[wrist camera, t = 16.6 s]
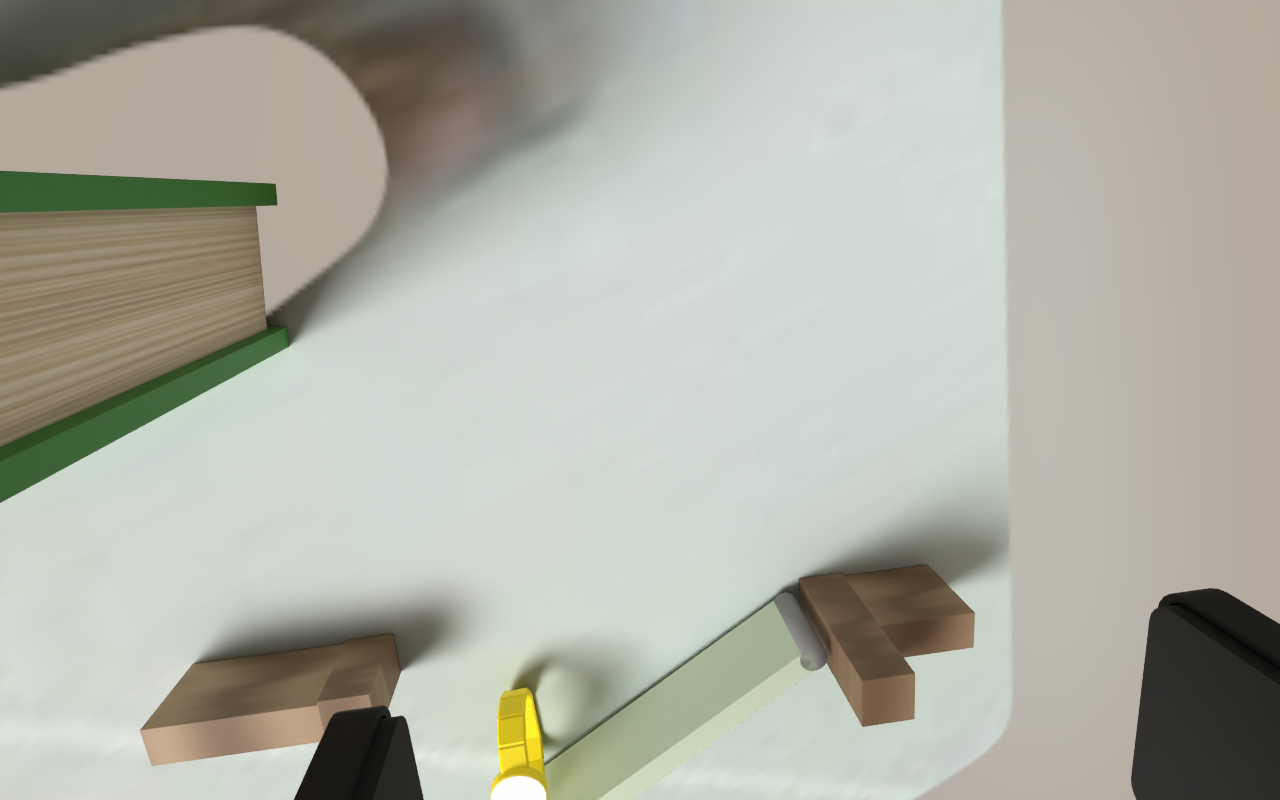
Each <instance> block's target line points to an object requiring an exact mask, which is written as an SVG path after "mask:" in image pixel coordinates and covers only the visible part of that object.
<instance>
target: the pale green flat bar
mask: <svg viewBox="0 0 1280 800" xmlns="http://www.w3.org/2000/svg"><path fill="white" fill-rule="evenodd" d="M827 659H828V654H827V651H826V650H825V648H824V646H823V644H822V643H821V641H820V639H819V638H818V636H817V634H816V632H815V631H814V629H813V627H812V625H811V624H810V622H809V620H808V618H807V617H806V615H805V613H804V612H803V610H802V608H801V606H800V605H799V603H798V601H797V599H796V598H795V596H794V595H792V594H790V593H781V594H779V595H777V596H776V597H775V598H774V600H773V601H772V602H770V603H769V604H768V605H766V606H765V607H763V608H762V609H761V610H759V611H758V612H757V613H755V614H754V615H752V616H751V617H750V618H748V619H747V620H746V621H744V622H743V623H741V624H740V625H739V626H737V627H736V628H734V629H733V630H732V631H730V632H729V633H728V634H726V635H725V636H723V637H722V638H721V639H719V640H718V641H717V642H715V643H714V644H712V645H711V646H710V647H708V648H707V649H705V650H704V651H703V652H701V653H700V654H699V655H697V656H696V657H694V658H693V659H692V660H690V661H689V662H688V663H686V664H685V665H683V666H682V667H681V668H679V669H678V670H677V671H675V672H674V673H672V674H671V675H670V676H668V677H667V678H665V679H664V680H663V681H661V682H660V683H659V684H657V685H656V686H654V687H653V688H652V689H650V690H649V691H648V692H646V693H645V694H643V695H642V696H641V697H639V698H638V699H637V700H635V701H634V702H632V703H631V704H630V705H628V706H627V707H625V708H624V709H623V710H621V711H620V712H619V713H617V714H616V715H614V716H613V717H612V718H610V719H609V720H608V721H606V722H605V723H603V724H602V725H601V726H599V727H598V728H596V729H595V730H594V731H592V732H591V733H590V734H588V735H587V736H585V737H584V738H583V739H581V740H580V741H579V742H577V743H576V744H574V745H573V746H572V747H570V748H569V749H568V750H566V751H565V752H563V753H562V754H561V755H559V756H558V757H556V758H555V759H554V760H552V761H551V762H550V763H548V764H547V765H545V779H546V781H547V788H548V791H547V800H633V799H634V798H636V797H637V796H639V795H640V794H641V793H643V792H644V791H646V790H647V789H648V788H650V787H651V786H653V785H654V784H655V783H657V782H658V781H660V780H661V779H663V778H664V777H665V776H667V775H668V774H670V773H671V772H672V771H674V770H675V769H677V768H678V767H679V766H681V765H682V764H684V763H685V762H686V761H688V760H689V759H691V758H692V757H693V756H695V755H696V754H698V753H699V752H701V751H702V750H703V749H705V748H706V747H708V746H709V745H710V744H712V743H713V742H715V741H716V740H717V739H719V738H720V737H722V736H723V735H724V734H726V733H727V732H729V731H730V730H732V729H733V728H734V727H736V726H737V725H739V724H740V723H741V722H743V721H744V720H746V719H747V718H748V717H750V716H751V715H753V714H754V713H755V712H757V711H758V710H760V709H761V708H762V707H764V706H765V705H767V704H768V703H770V702H771V701H772V700H774V699H775V698H777V697H778V696H779V695H781V694H782V693H784V692H785V691H786V690H788V689H789V688H791V687H792V686H793V685H795V684H796V683H798V682H799V681H801V680H802V679H803V678H805V677H806V676H808V675H809V674H810V673H812V672H813V671H815V670H818V669H820V668H822V667H823V666H824V665H825V664H826V662H827Z"/></svg>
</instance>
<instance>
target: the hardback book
mask: <svg viewBox="0 0 1280 800" xmlns="http://www.w3.org/2000/svg"><path fill="white" fill-rule="evenodd" d="M267 205H268V206H269V205H277V195H276V184H267V183H246V182H224V181H203V180H181V179H160V178H140V177H118V176H98V175H76V174H55V173H33V172H12V171H0V503H1V502H3V501H5V500H6V499H8V498H10V497H12V496H14V495H16V494H17V493H19V492H21V491H23V490H25V489H27V488H29V487H30V486H32V485H34V484H36V483H38V482H40V481H42V480H43V479H45V478H47V477H49V476H51V475H53V474H54V473H56V472H58V471H60V470H62V469H64V468H66V467H67V466H69V465H71V464H73V463H75V462H77V461H78V460H80V459H82V458H84V457H86V456H88V455H90V454H91V453H93V452H95V451H97V450H99V449H101V448H103V447H104V446H106V445H108V444H110V443H112V442H114V441H115V440H117V439H119V438H121V437H123V436H125V435H127V434H128V433H130V432H132V431H134V430H136V429H138V428H139V427H141V426H143V425H145V424H147V423H149V422H151V421H152V420H154V419H156V418H158V417H160V416H162V415H163V414H165V413H167V412H169V411H171V410H173V409H175V408H176V407H178V406H180V405H182V404H184V403H186V402H188V401H189V400H191V399H193V398H195V397H197V396H199V395H200V394H202V393H204V392H206V391H208V390H210V389H212V388H213V387H215V386H217V385H219V384H221V383H223V382H224V381H226V380H228V379H230V378H232V377H234V376H236V375H237V374H239V373H241V372H243V371H245V370H247V369H249V368H250V367H252V366H254V365H256V364H258V363H260V362H261V361H263V360H265V359H267V358H269V357H271V356H273V355H274V354H276V353H278V352H280V351H282V350H284V349H285V348H287V347H289V339H288V327H267V324H266V313H265V303H264V291H263V280H262V269H261V258H260V247H259V236H258V225H257V214H256V206H267Z"/></svg>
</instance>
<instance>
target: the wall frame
mask: <svg viewBox="0 0 1280 800" xmlns="http://www.w3.org/2000/svg"><path fill="white" fill-rule="evenodd" d="M799 588H800V606H801V608H802V610H803V612H804V613H805V615H806V617H807V618H808V620H809V622H810V624H811V625H812V627H813V629H814V631H815V632H816V634H817V636H818V638H819V639H820V641H821V643H822V644H823V646H824V648H825V650H826V651H827V654H828V659H827V662H826V663H827V664H828V666H829V668H830V670H831V671H832V673H833V675H834V677H835V679H836V680H837V682H838V684H839V686H840V687H841V689H842V691H843V693H844V695H845V696H846V698H847V700H848V702H849V703H850V705H851V707H852V709H853V710H854V712H855V714H856V716H857V718H858V719H859V721H860V723H861V725H862V726H863V727H864V726H871V725H878V724H884V723H891V722H898V721H904V720H911V719H914V709H915V673H914V671H913V670H912V669H911V667H910V666H909V665H908V663H907V662H906V661H905V659H904V658H903V657H910V656H917V655H924V654H931V653H938V652H945V651H952V650H959V649H965V648H972V647H973V645H974V619H975V612H974V611H973V610H972V609H971V608H970V607H969V606H968V605H967V604H966V603H965V602H964V601H963V600H962V599H961V598H960V597H959V596H958V595H957V594H956V593H955V592H954V591H953V590H952V589H951V588H950V587H949V586H948V585H947V584H946V583H945V582H944V581H943V580H942V579H941V578H940V577H939V576H938V575H937V574H936V573H935V572H934V571H933V570H932V569H931V568H930V567H929V566H928V565H920V566H913V567H905V568H898V569H890V570H883V571H876V572H868V573H861V574H854V575H846V576H843V575H842V574H841V573H837V574H830V575H823V576H815V577H808V578H800V579H799ZM400 673H401V670H400V666H399V661H398V656H397V651H396V647H395V642H394V637H393V634H386V635H379V636H372V637H364V638H357V639H349V640H347V641H346V643H345V644H337V645H330V646H323V647H315V648H308V649H300V650H293V651H286V652H278V653H271V654H264V655H256V656H249V657H241V658H234V659H227V660H219V661H212V662H205V663H197V664H193V665H192V666H191V667H190V668H189V670H188V671H187V672H186V673H185V675H184V676H183V677H182V678H181V680H180V681H179V682H178V683H177V685H176V686H175V687H174V688H173V690H172V691H171V692H170V693H169V695H168V696H167V697H166V698H165V700H164V701H163V702H162V703H161V705H160V706H159V707H158V708H157V710H156V711H155V712H154V713H153V715H152V716H151V717H150V718H149V720H148V721H147V722H146V724H145V725H144V726H143V727H142V729H141V730H140V732H141V735H142V738H143V741H144V744H145V747H146V750H147V753H148V756H149V759H150V762H151V765H152V766H156V765H163V764H170V763H177V762H184V761H191V760H198V759H204V758H211V757H218V756H225V755H232V754H239V753H246V752H253V751H260V750H267V749H274V748H281V747H287V746H294V745H301V744H308V743H315V742H320V740H321V738H322V736H323V734H324V731H325V729H326V727H327V725H328V723H329V720H330V719H331V717H332V716H333V714H335V713H336V712H339V711H346V710H354V709H361V708H368V707H375V706H382V705H384V706H386V707H387V708H389V705H390V702H391V699H392V696H393V693H394V690H395V688H396V685H397V682H398V679H399V676H400Z"/></svg>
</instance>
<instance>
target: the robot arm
mask: <svg viewBox="0 0 1280 800" xmlns="http://www.w3.org/2000/svg"><path fill="white" fill-rule="evenodd" d="M1131 783H1132V788H1133V792H1134V795H1135V797H1136V799H1137V800H1280V624H1279V623H1277V622H1275V621H1274V620H1272V619H1270V618H1269V617H1267V616H1265V615H1264V614H1262V613H1260V612H1259V611H1257V610H1255V609H1254V608H1252V607H1250V606H1249V605H1247V604H1245V603H1244V602H1242V601H1240V600H1239V599H1237V598H1235V597H1234V596H1232V595H1230V594H1229V593H1226V592H1224V591H1222V590H1220V589H1212V588H1209V589H1202V590H1194V591H1187V592H1181V593H1174V594H1169V595H1167V596H1164V597H1163V599H1162V600H1161V601H1160V602H1159V606H1158V608H1157V609H1155V610H1154V611H1153V612H1152V613H1151V616H1150V620H1149V629H1148V638H1147V646H1146V655H1145V663H1144V672H1143V680H1142V689H1141V698H1140V706H1139V715H1138V724H1137V732H1136V741H1135V749H1134V758H1133V767H1132V776H1131ZM294 800H424V799H423V794H422V790H421V785H420V780H419V776H418V771H417V766H416V762H415V757H414V752H413V748H412V743H411V738H410V734H409V729H408V725H407V721H406V719H405V718H404V717H403V716H397V717H391V714H390V711H389V710H388V708H387V707H386V706H384V705H382V706H375V707H368V708H361V709H354V710H346V711H339V712H336V713H335V714H333V716H332V717H331V719H330V720H329V723H328V725H327V727H326V729H325V731H324V734H323V736H322V738H321V740H320V743H319V745H318V747H317V749H316V752H315V754H314V756H313V758H312V760H311V763H310V765H309V767H308V769H307V772H306V774H305V776H304V778H303V781H302V783H301V785H300V787H299V789H298V792H297V794H296V796H295V798H294Z"/></svg>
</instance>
